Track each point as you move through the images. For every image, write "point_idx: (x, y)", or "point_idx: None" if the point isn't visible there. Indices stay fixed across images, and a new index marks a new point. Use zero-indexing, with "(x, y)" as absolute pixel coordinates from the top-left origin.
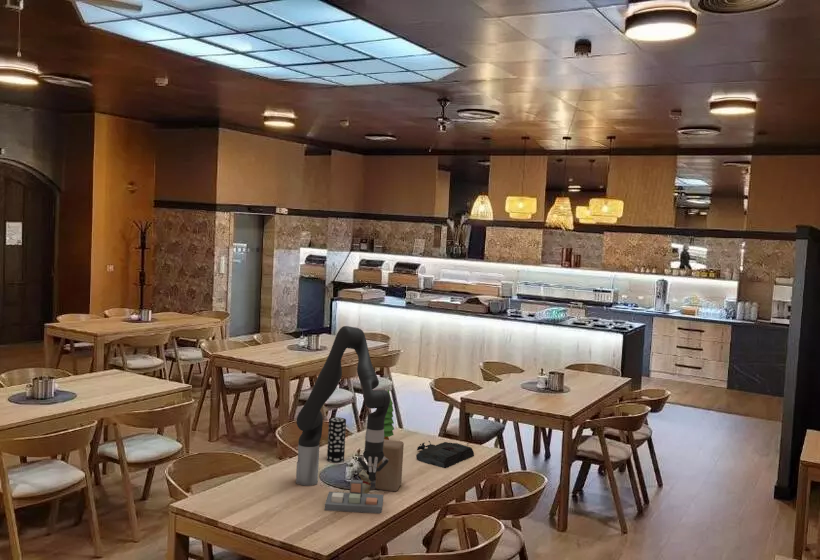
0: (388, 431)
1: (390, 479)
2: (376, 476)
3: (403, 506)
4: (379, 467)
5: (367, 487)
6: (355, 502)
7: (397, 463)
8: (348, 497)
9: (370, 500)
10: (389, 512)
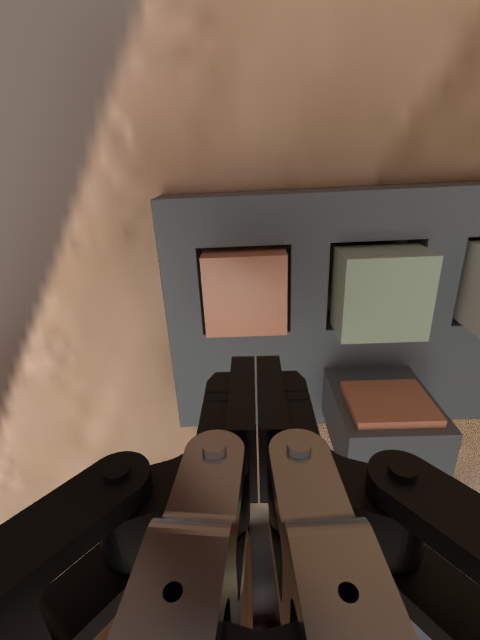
0: None
1: None
2: (247, 598)
3: (47, 341)
4: (87, 526)
5: None
6: (369, 249)
7: None
8: (417, 344)
9: (253, 282)
10: (111, 228)
